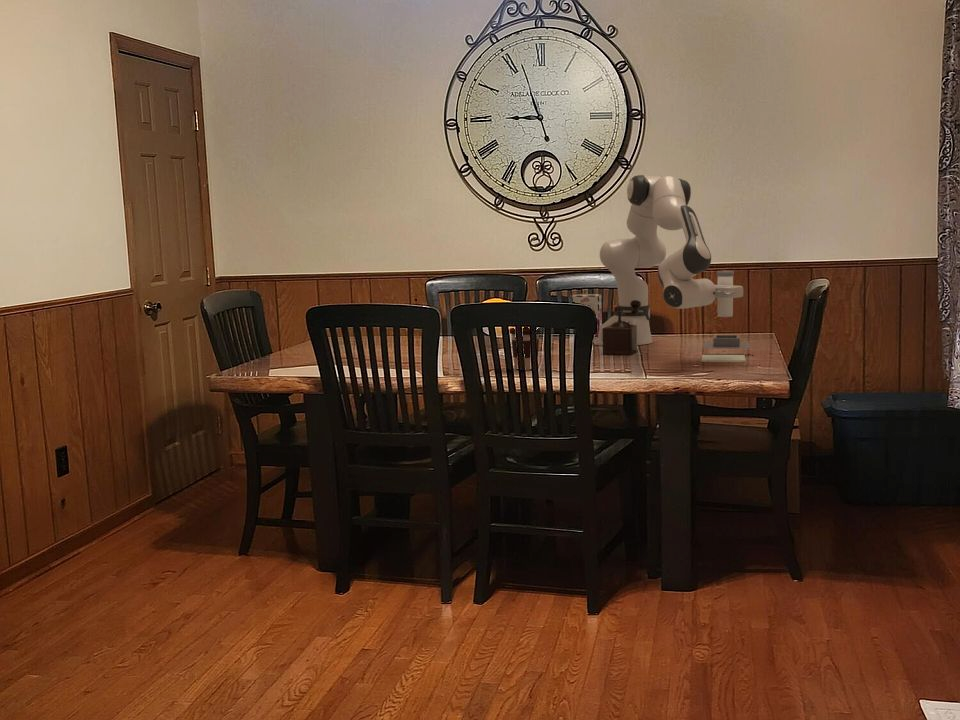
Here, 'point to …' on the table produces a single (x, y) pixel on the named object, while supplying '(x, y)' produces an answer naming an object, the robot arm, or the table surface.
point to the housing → (727, 342)
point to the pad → (723, 357)
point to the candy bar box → (592, 301)
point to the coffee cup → (526, 346)
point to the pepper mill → (621, 334)
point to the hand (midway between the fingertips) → (726, 289)
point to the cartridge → (725, 303)
